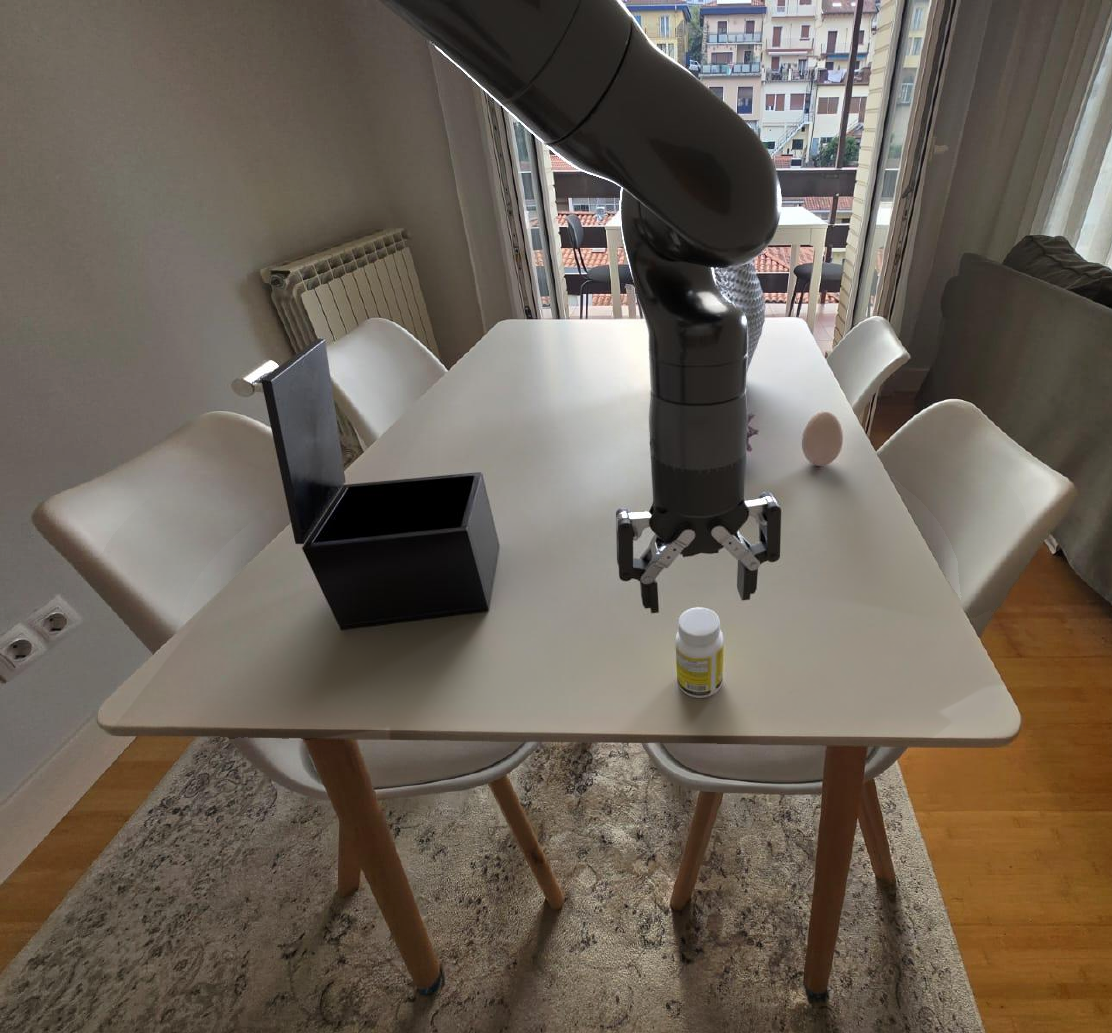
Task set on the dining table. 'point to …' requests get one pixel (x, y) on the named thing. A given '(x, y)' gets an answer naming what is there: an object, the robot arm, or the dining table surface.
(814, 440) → the egg
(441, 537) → the black box
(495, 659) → the dining table surface
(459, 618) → the dining table surface
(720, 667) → the supplement bottle
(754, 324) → the vase
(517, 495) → the dining table surface
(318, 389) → the box lid
